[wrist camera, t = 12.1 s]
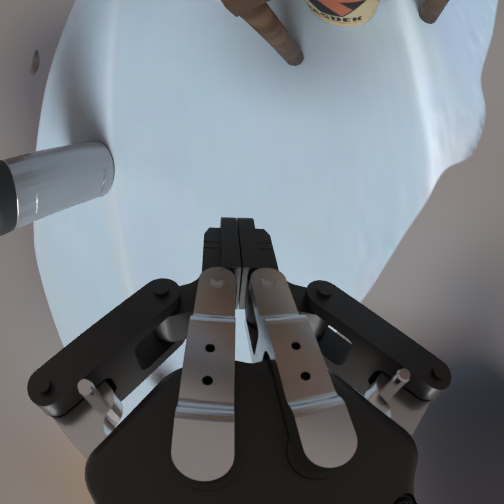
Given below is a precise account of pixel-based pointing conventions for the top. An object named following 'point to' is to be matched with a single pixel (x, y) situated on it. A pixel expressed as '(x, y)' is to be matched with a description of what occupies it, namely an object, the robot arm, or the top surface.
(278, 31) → the cover stand
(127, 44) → the top surface
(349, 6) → the coffee cup
